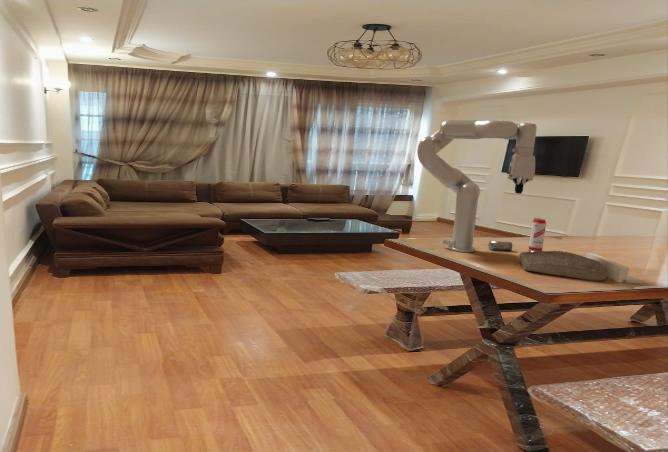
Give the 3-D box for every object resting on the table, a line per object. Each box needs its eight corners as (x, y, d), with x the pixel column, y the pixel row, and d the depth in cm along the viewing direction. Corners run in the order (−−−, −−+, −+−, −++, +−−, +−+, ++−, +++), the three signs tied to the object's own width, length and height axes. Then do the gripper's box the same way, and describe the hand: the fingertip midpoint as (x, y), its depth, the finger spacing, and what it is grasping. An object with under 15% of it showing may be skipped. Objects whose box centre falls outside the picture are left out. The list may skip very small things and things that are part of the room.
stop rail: (618, 282, 173) (621, 267, 172) (584, 265, 197) (586, 252, 196) (642, 283, 173) (645, 268, 172) (605, 267, 197) (607, 253, 196)
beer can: (544, 252, 219) (549, 220, 216) (531, 251, 219) (536, 219, 216) (538, 249, 225) (543, 218, 223) (526, 248, 225) (530, 217, 223)
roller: (491, 240, 216) (488, 241, 221) (491, 249, 215) (488, 250, 220) (512, 241, 216) (508, 242, 221) (512, 250, 216) (508, 251, 220)
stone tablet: (523, 273, 179) (607, 283, 171) (526, 253, 178) (611, 262, 170) (517, 262, 198) (593, 271, 190) (520, 244, 197) (596, 252, 189)
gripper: (510, 150, 194) (504, 193, 197) (544, 153, 194) (538, 195, 198) (504, 150, 202) (498, 191, 205) (537, 152, 202) (531, 193, 205)
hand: (518, 193), depth 201 cm, fingers closed
